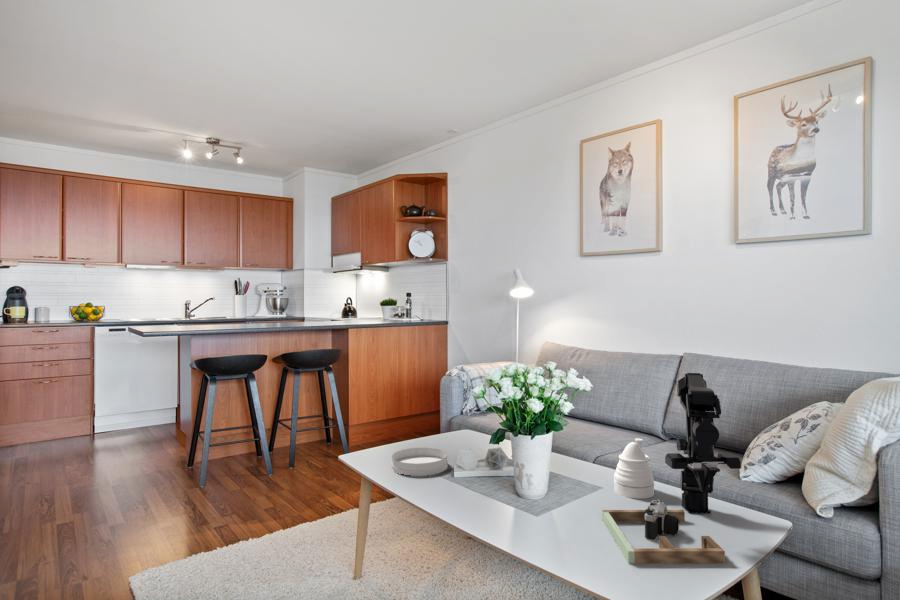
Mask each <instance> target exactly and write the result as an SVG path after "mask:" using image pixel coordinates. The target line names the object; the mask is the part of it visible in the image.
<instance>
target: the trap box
mask: <svg viewBox="0 0 900 600" xmlns="http://www.w3.org/2000/svg"><path fill="white" fill-rule="evenodd" d="M602 510H603V511H604V512H609V514H610V515H611V517H612V518H613V520H614V521H615V523H645V510H646V509H602ZM667 511H668V512H667V514H668V515H670V516H676V518H678V520H679V523H685V522H686V520H685V518H686V517H685V511H684V510H683V509H667ZM602 517H603V516H602V515H601V518H602ZM700 536H701V537H700V539H701V547H700V548H694V547H693V548H692V547H691V548H690V547H689V548H686V547H683V548H681V547H679V548H675V546H674V545H673V544H672V543H671V542H670V540H669V539H668V537H666V536H665V535H664V536H662V535H658V548H656V547H655V548H648V547H646V548H641V547H640V548H633V550H634V553H635V563H634V564H725V563H726V561H725V560H726V558H725V557H726V555H725V553H726V551H725V550H724V549H723V548H722V547H721V546H720V545H719V544H718V543H717V541H715V540H714V539H713V538H712V537H711V536H710V535H700Z"/></svg>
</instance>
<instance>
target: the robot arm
mask: <svg viewBox="0 0 900 600" xmlns="http://www.w3.org/2000/svg"><path fill="white" fill-rule="evenodd" d="M676 394H677V397H679V404H680V405H681V406H682V408H683V409H684V410H685V428H686V430H685V431H686V440H685V438H677V439H676V450H677V451H683V454H684V455H687V456H684V455H683V454H681V453H679V452H676V453H666V455H665V457H664V463H665V464H666V465H667V466H668V467H670V468H671V469H672V470H680V476H679V483H680V484H679V485H680V489H681V491H682V493H681V506H682V508H683V509H685V510H686V511H687V513H689V514H711V513H712V512H711V510H709V494H712V493H713V492H714V482H715V479H714V478H715V476H716V475H717V473H720V472H721V468H719V465H726V466H727V467H728V468H729V469H730V470H731V469H733V470H734V469H735V470H737V469H739V470H740V469H742V461H741V458H740V457H739V456H736V455H735V454H734V453H732V452H718V453H717V455H716V456H715V447H714V446H716V445H717V442H718V441H719V438H720V432H719V430H718V427H717V425H715V423H714V422H715V421H714V419H720V416H721V414H722V408H721V407H722V406H721V402H720V398H719V397H718V395H717V394H715V392H714V390H713V389H712V388H709V387H708V385H707V380H705V379H704V375H703V373H700V372H687V373H684V376H683V377H681V378H680V379H679V380H677V385H676Z"/></svg>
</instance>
